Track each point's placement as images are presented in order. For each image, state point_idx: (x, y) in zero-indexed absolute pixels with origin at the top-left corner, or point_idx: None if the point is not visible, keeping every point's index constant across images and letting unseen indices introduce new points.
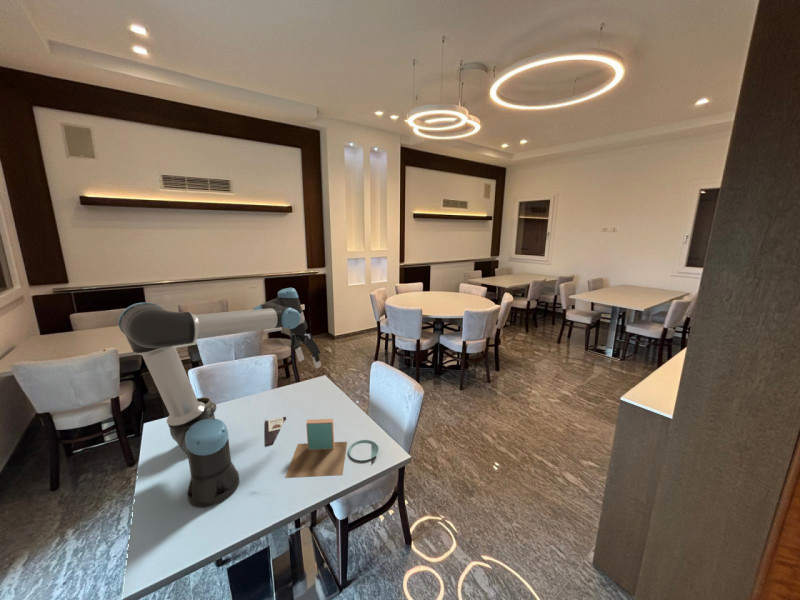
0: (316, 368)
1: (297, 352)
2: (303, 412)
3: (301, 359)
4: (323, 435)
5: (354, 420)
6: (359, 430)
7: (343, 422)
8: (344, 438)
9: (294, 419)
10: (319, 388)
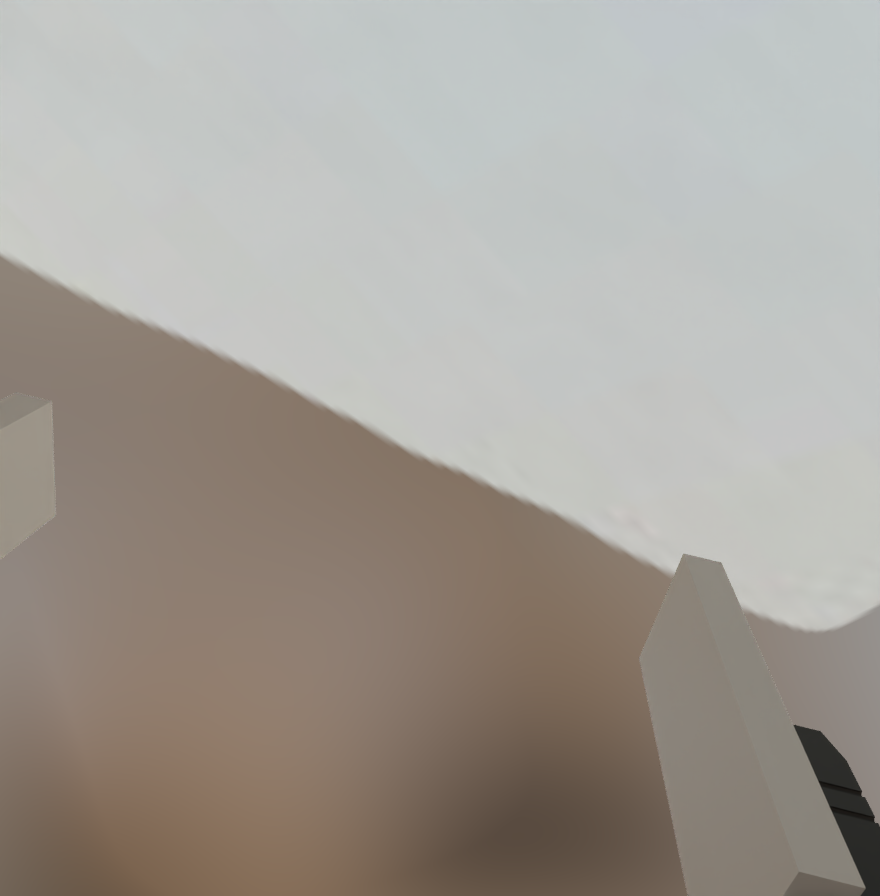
0: (13, 396)
1: (746, 777)
2: (623, 160)
3: (668, 620)
4: None
5: (173, 269)
6: (50, 182)
7: (213, 209)
8: (38, 31)
9: (626, 7)
10: (739, 520)
